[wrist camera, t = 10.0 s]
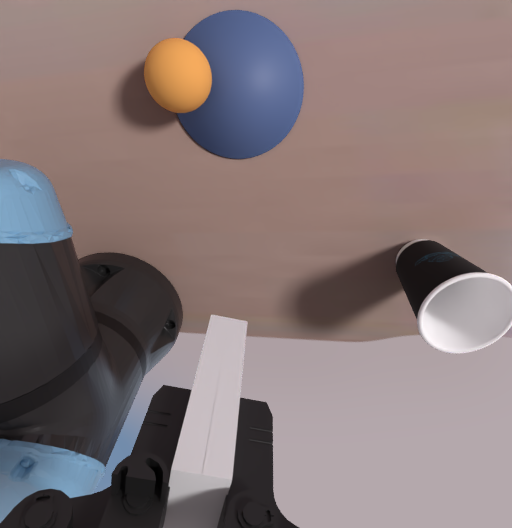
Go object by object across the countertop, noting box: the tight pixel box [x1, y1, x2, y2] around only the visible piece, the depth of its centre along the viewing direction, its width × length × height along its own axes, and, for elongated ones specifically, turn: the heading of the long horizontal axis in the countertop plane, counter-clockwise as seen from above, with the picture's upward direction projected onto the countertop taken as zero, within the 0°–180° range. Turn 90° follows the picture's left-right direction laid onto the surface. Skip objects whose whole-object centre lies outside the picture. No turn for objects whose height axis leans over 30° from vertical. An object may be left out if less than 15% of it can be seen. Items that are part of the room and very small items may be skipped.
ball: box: [144, 38, 212, 113], centre depth 30 cm, size 6×6×6 cm
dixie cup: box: [396, 239, 512, 353], centre depth 34 cm, size 8×8×11 cm
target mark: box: [177, 10, 304, 159], centre depth 32 cm, size 12×12×1 cm
